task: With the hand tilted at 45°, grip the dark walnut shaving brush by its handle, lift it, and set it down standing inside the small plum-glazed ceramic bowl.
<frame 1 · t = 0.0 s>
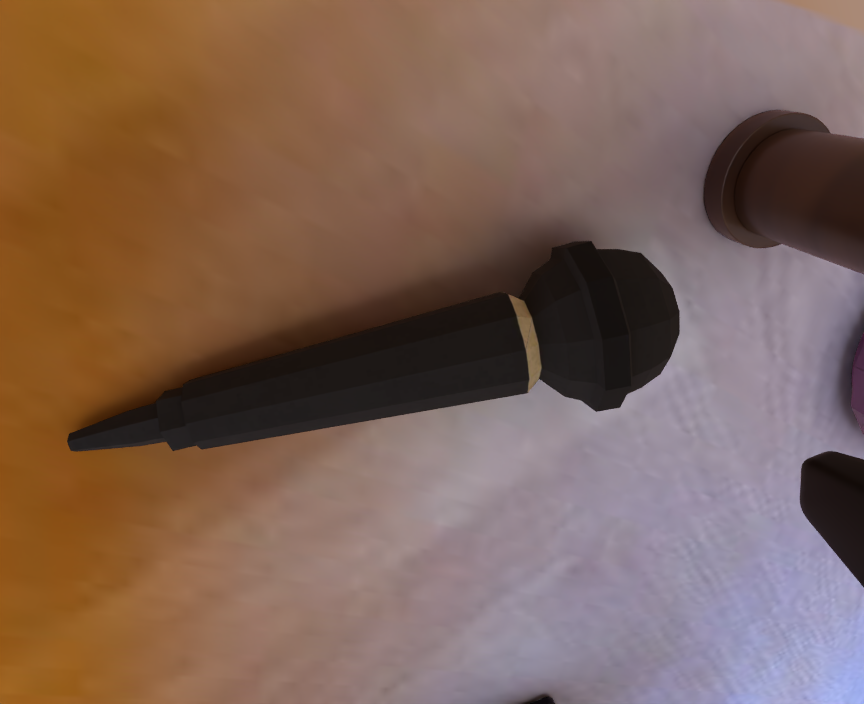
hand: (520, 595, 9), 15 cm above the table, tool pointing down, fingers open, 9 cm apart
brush: (760, 178, 25), on the table
microphone: (370, 328, 23), on the table
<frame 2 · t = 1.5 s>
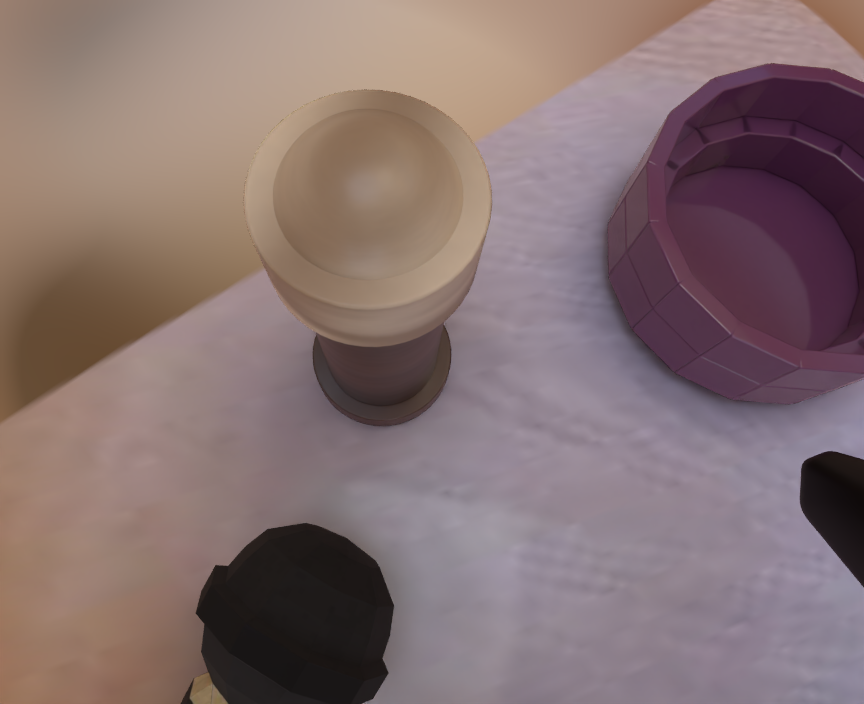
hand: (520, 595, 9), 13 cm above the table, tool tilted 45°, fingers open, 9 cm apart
bowl: (738, 271, 26), on the table
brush: (382, 360, 24), on the table
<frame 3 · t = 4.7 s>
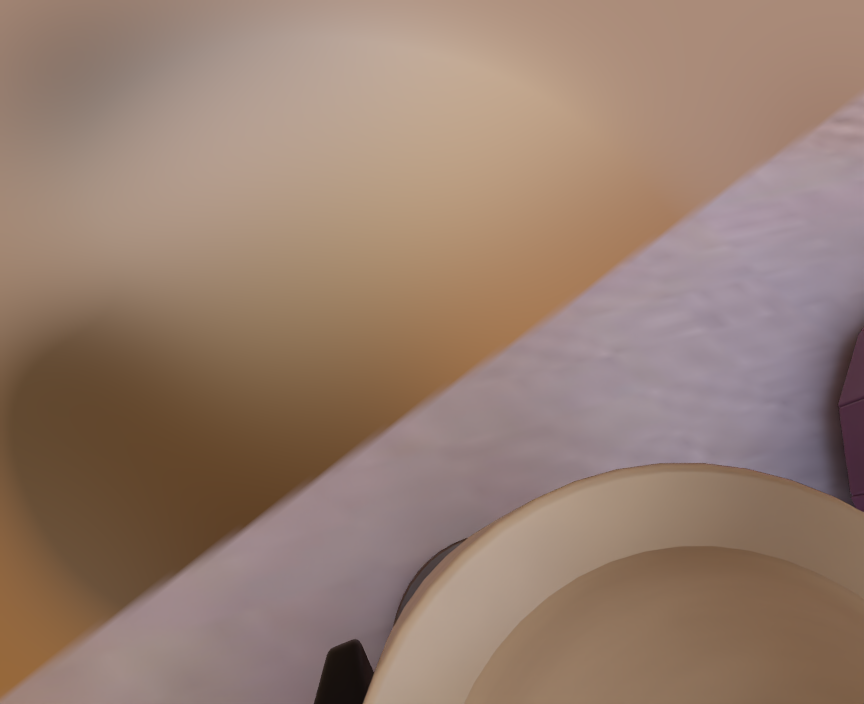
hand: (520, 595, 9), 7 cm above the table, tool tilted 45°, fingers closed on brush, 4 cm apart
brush: (498, 644, 15), on the table, touching gripper
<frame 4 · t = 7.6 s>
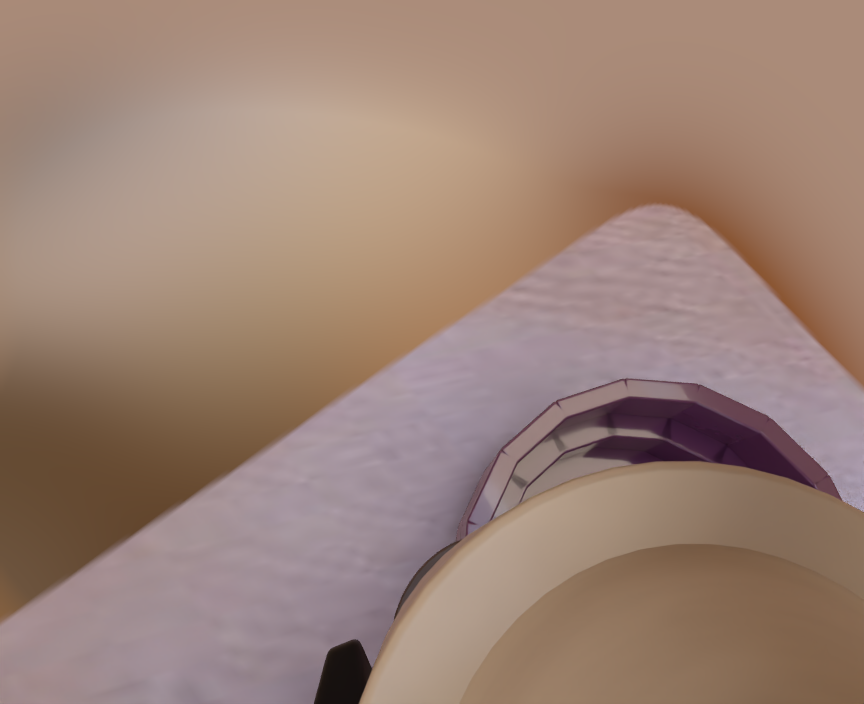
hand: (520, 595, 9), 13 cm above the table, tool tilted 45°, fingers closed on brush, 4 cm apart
bowl: (614, 575, 22), on the table
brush: (497, 643, 15), point 7 cm above the table, touching gripper
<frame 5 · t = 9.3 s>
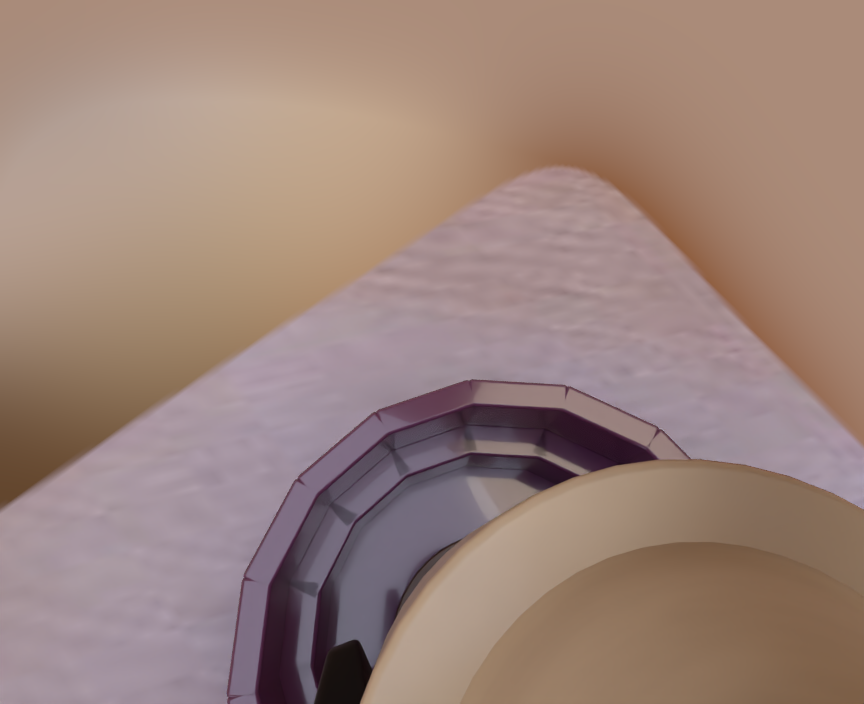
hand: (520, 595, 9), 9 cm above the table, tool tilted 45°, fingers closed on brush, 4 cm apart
bowl: (487, 627, 17), on the table
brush: (497, 643, 15), point 3 cm above the table, touching gripper
when the fingers open (7 cm above the table, at t = 10.3 s): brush stays where it is, resting on bowl.
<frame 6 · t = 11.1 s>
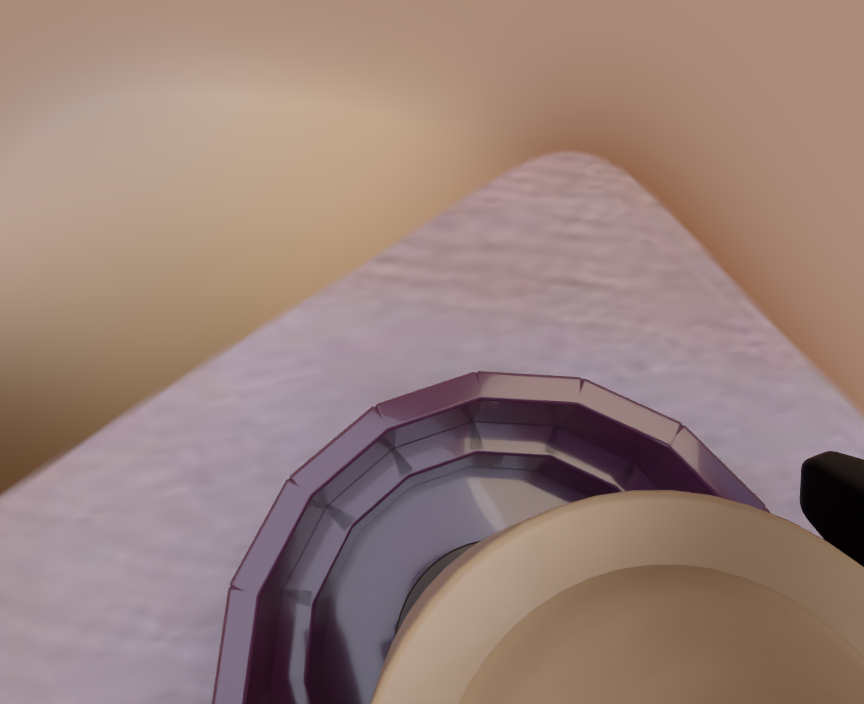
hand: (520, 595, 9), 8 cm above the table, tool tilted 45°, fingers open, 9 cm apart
bowl: (494, 638, 16), on the table
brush: (496, 646, 15), point 1 cm above the table, touching bowl
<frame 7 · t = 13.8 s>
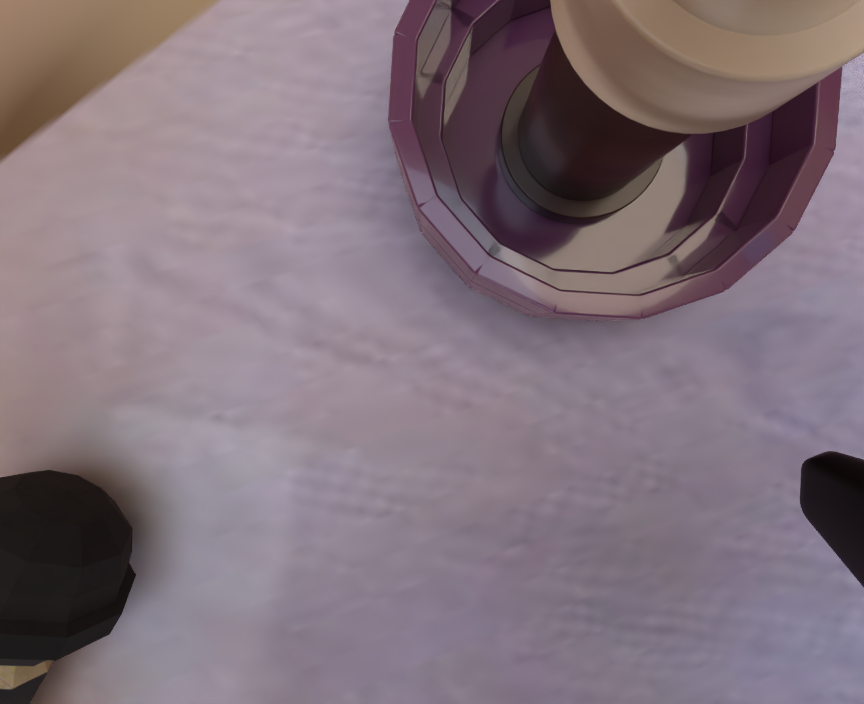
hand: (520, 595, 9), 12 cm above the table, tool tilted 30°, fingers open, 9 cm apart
bowl: (572, 148, 21), on the table
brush: (576, 144, 20), point 1 cm above the table, touching bowl
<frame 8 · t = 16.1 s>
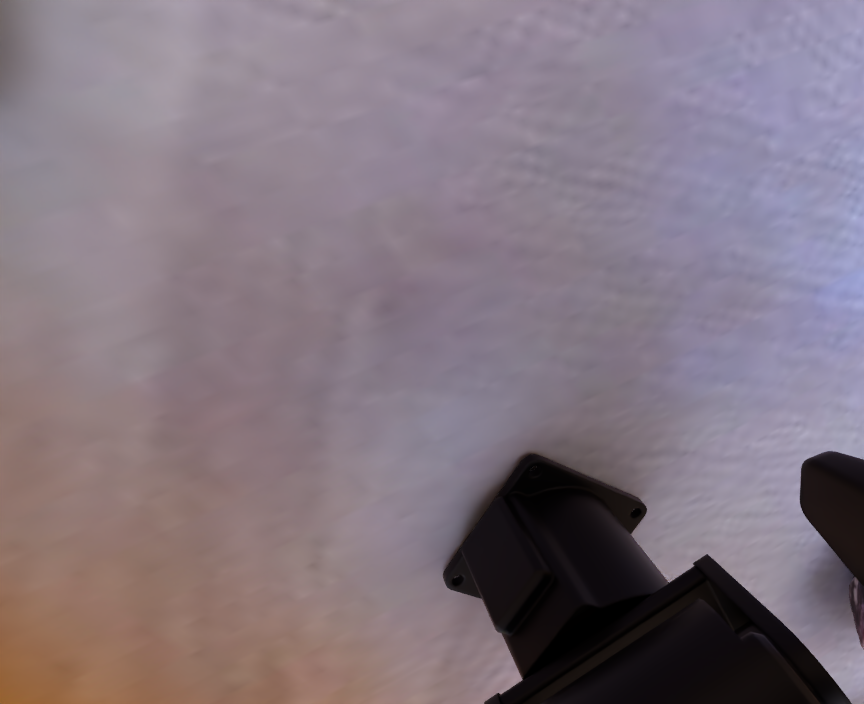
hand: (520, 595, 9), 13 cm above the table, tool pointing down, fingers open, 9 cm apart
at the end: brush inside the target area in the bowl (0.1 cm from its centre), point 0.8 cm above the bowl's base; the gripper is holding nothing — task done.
